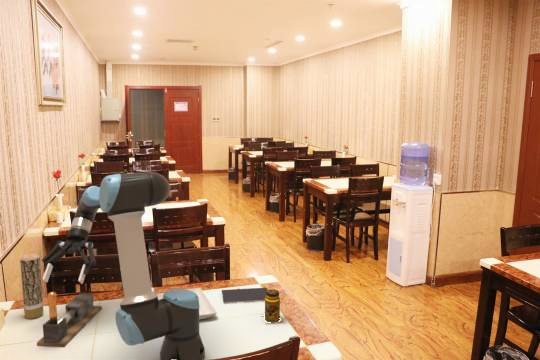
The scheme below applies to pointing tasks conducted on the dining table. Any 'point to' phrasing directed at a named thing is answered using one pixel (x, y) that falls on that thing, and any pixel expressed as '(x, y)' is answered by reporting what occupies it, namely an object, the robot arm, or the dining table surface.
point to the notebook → (244, 295)
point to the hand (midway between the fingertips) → (62, 281)
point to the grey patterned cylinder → (31, 285)
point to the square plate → (205, 306)
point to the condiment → (272, 306)
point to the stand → (67, 331)
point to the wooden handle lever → (53, 310)
